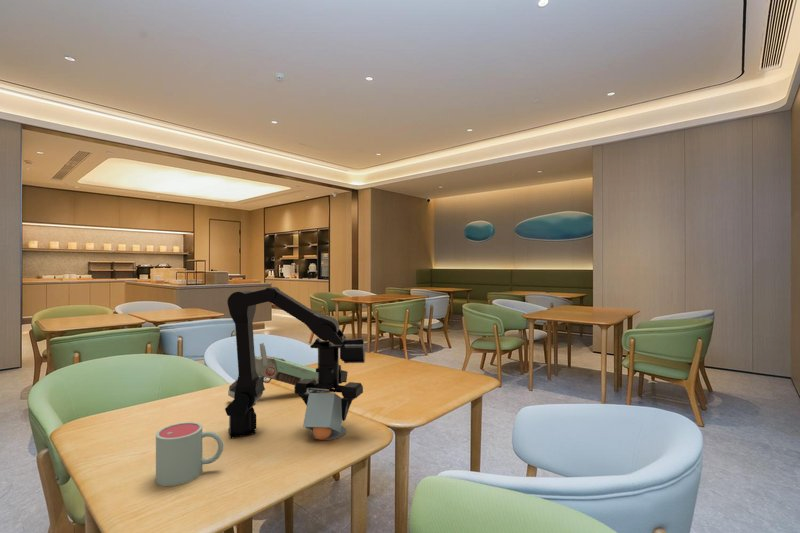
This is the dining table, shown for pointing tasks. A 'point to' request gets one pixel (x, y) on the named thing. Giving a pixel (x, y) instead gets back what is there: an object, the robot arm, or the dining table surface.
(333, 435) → the circle
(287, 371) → the ray gun
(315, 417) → the gray-blue matte cube
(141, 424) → the dining table surface
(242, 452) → the dining table surface
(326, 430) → the ball
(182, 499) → the dining table surface
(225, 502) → the dining table surface
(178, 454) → the mug
